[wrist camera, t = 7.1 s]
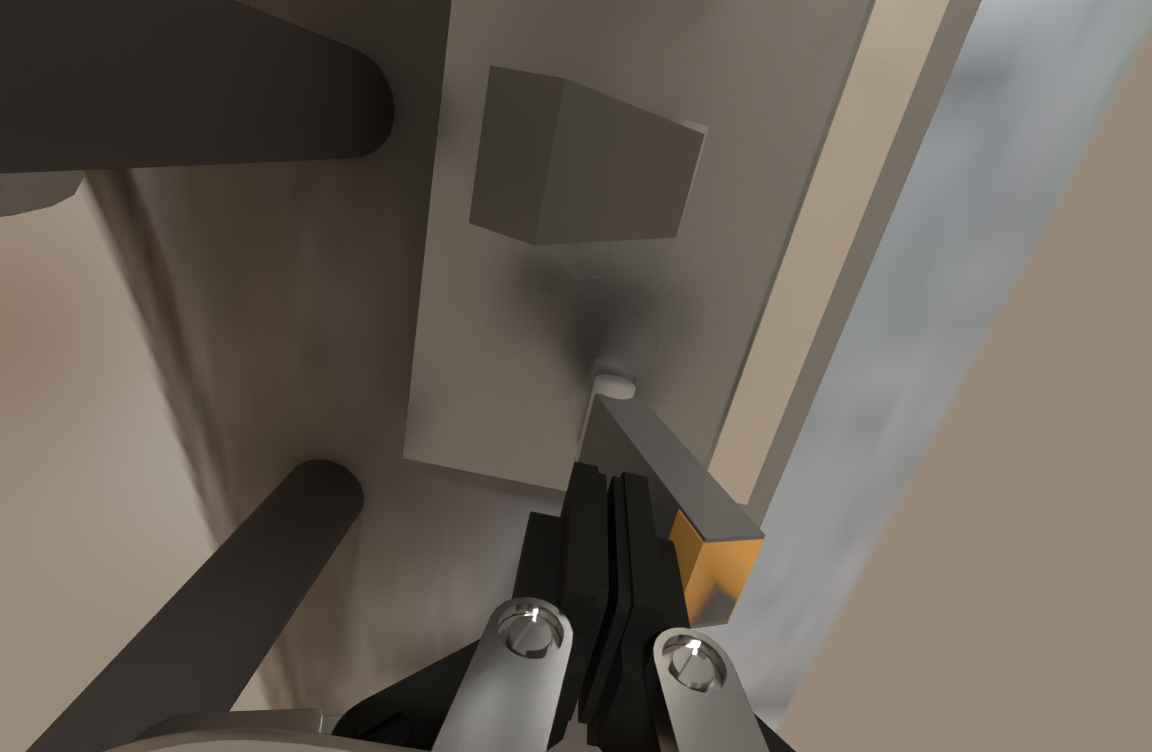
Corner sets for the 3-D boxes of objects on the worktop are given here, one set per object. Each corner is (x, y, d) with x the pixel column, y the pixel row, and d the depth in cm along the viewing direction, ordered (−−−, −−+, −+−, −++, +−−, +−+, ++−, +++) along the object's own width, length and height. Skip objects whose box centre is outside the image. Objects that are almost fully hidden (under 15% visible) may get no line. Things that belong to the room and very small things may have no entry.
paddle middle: (667, 120, 14) (492, 50, 8) (719, 130, 14) (567, 62, 8) (640, 230, 15) (467, 234, 9) (686, 244, 15) (532, 257, 9)
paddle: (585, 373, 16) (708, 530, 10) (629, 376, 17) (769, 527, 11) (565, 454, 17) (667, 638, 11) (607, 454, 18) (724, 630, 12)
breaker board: (517, -337, 13) (497, -454, 10) (1011, -203, 13) (1106, -284, 11) (424, 422, 20) (400, 461, 18) (741, 487, 21) (760, 534, 18)
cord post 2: (293, 33, 16) (-695, -334, 4) (398, 58, 16) (-229, -219, 4) (291, 145, 17) (-469, 142, 5) (389, 167, 17) (-114, 218, 5)
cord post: (287, 453, 21) (-127, 858, 9) (366, 468, 21) (60, 890, 9) (286, 516, 22) (-84, 952, 10) (361, 531, 22) (83, 979, 10)
